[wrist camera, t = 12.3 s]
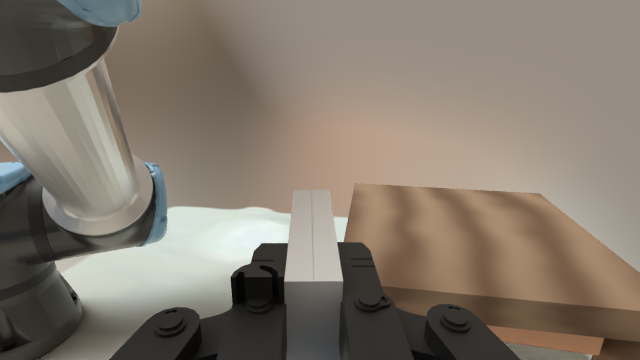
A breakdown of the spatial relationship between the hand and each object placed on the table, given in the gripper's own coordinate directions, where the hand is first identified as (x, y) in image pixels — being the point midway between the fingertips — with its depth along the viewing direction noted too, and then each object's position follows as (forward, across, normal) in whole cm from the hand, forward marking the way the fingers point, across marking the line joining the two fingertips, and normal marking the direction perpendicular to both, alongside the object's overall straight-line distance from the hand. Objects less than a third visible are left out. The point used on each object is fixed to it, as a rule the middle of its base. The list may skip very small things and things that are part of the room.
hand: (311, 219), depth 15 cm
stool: (+18, +16, -30) cm, 38 cm away
